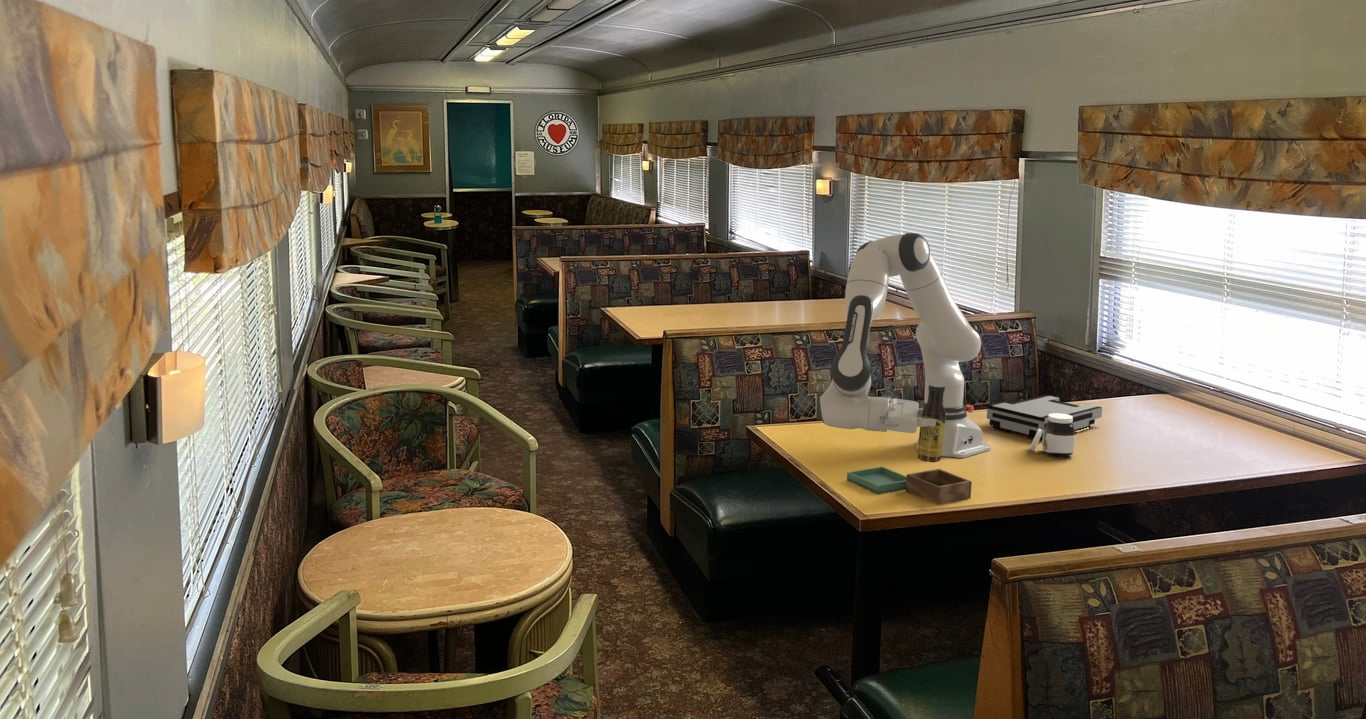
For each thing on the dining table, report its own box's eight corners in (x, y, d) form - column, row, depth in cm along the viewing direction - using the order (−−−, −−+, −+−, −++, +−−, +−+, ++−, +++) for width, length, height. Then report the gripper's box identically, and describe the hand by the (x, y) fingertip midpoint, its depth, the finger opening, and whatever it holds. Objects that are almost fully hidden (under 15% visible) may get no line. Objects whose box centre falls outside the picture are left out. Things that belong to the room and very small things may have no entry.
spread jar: (1077, 459, 311) (1080, 420, 308) (1039, 459, 310) (1042, 420, 307) (1060, 447, 322) (1063, 410, 320) (1023, 447, 321) (1026, 410, 319)
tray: (882, 474, 293) (882, 466, 293) (913, 487, 282) (914, 479, 282) (846, 480, 288) (847, 472, 287) (877, 494, 277) (878, 486, 276)
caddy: (938, 484, 285) (939, 468, 284) (970, 498, 275) (971, 481, 274) (905, 490, 280) (906, 474, 279) (937, 504, 269) (938, 487, 269)
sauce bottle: (912, 460, 276) (917, 384, 273) (923, 455, 281) (928, 381, 277) (936, 464, 272) (941, 388, 269) (946, 459, 277) (952, 384, 274)
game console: (1100, 428, 346) (1102, 403, 345) (1042, 444, 327) (1045, 418, 325) (1044, 415, 362) (1046, 391, 361) (985, 429, 343) (987, 404, 341)
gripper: (879, 412, 267) (936, 416, 264) (884, 394, 287) (937, 397, 283) (878, 436, 268) (934, 441, 265) (882, 416, 288) (935, 420, 285)
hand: (936, 418), depth 274 cm, fingers closed on sauce bottle, 6 cm apart
